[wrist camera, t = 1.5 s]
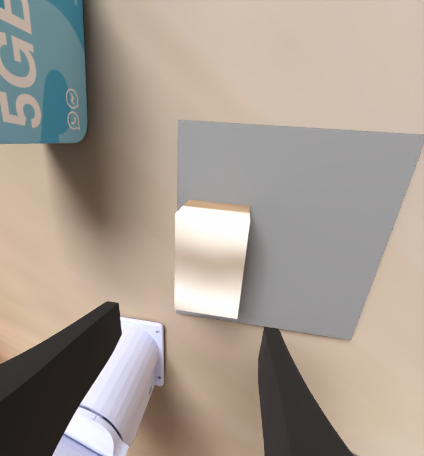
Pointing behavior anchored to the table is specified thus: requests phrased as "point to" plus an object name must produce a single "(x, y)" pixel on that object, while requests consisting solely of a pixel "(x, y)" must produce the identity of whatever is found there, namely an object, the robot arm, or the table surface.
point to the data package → (42, 72)
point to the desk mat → (301, 214)
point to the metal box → (210, 257)
